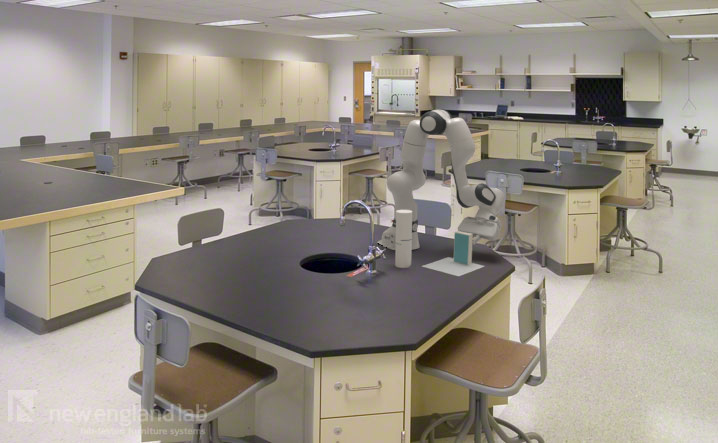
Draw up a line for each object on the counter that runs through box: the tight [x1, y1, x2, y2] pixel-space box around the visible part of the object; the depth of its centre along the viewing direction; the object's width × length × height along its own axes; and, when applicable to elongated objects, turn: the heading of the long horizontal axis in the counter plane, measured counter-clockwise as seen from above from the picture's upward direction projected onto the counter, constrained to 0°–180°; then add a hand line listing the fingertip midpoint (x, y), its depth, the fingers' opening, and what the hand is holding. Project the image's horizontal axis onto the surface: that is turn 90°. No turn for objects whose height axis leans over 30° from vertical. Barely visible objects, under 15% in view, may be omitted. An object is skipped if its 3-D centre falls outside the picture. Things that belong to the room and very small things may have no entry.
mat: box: [421, 256, 486, 277], centre depth 250 cm, size 20×20×1 cm
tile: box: [453, 230, 474, 265], centre depth 253 cm, size 8×3×14 cm, turn 45°
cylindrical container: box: [394, 210, 412, 269], centre depth 251 cm, size 7×7×25 cm
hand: (471, 243), depth 257 cm, fingers closed
